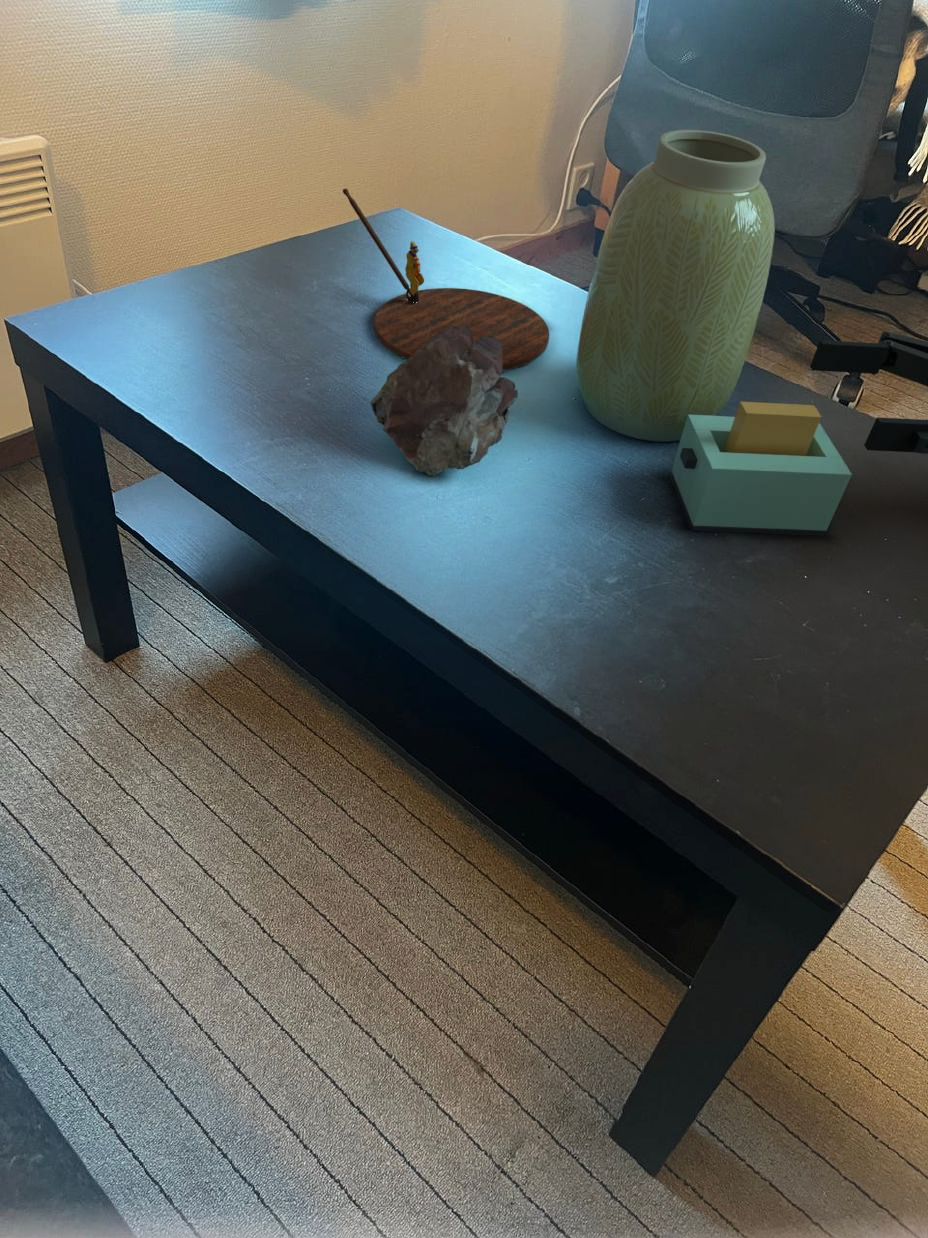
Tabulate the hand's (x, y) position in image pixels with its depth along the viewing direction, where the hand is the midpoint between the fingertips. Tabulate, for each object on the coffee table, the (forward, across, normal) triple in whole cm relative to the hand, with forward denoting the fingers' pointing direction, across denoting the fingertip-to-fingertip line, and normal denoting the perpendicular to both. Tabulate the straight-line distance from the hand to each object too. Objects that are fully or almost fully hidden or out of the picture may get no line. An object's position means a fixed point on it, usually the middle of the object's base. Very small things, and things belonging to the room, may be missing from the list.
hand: (841, 392), depth 82 cm
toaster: (+5, 0, -13) cm, 14 cm away
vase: (+11, +17, -13) cm, 24 cm away
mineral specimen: (+33, +9, -13) cm, 37 cm away
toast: (+5, 0, -12) cm, 13 cm away
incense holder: (+34, +37, -13) cm, 52 cm away
